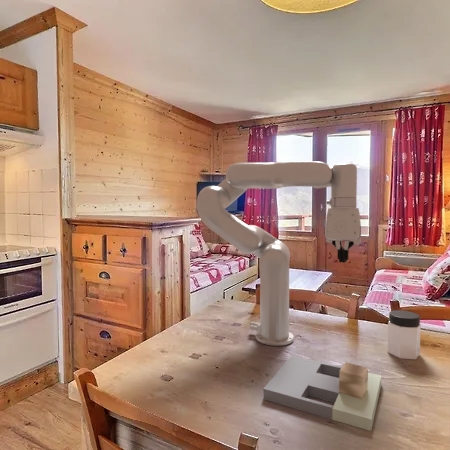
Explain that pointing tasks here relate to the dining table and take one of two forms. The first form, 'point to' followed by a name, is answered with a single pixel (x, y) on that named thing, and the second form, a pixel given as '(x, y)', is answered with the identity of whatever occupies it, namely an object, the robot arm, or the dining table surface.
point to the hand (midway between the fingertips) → (342, 261)
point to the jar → (404, 334)
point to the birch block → (353, 380)
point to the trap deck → (322, 392)
